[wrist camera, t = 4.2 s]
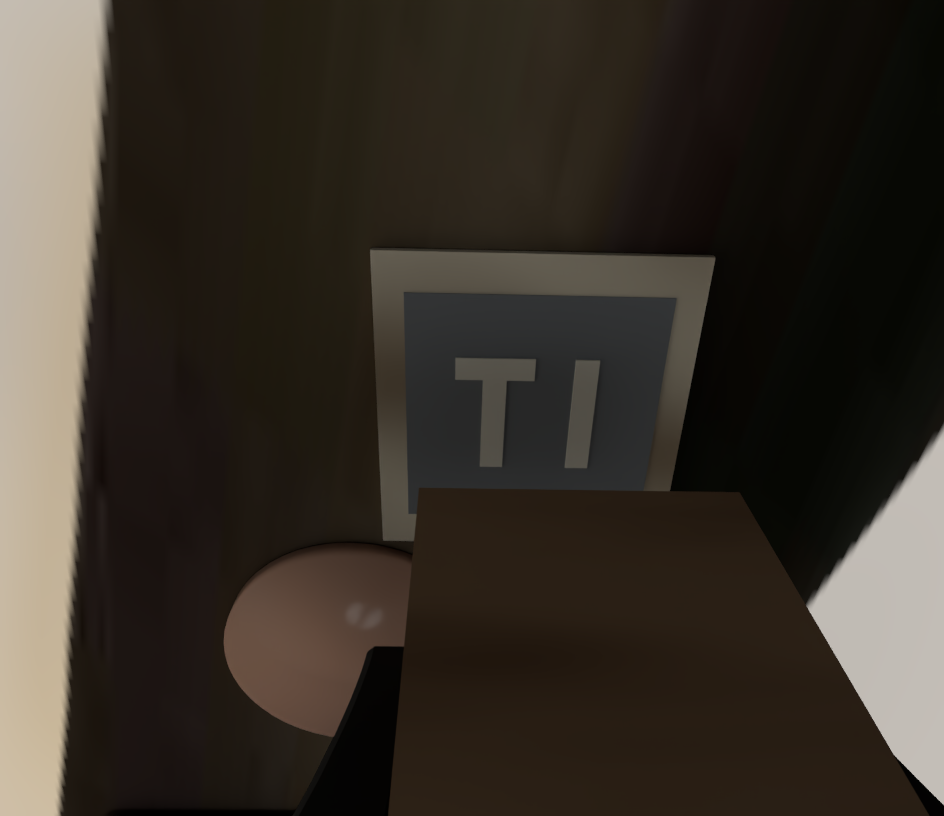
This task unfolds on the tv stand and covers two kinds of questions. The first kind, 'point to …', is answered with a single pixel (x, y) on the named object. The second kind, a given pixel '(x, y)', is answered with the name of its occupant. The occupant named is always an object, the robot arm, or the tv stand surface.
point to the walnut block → (621, 667)
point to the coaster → (316, 628)
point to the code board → (530, 370)
